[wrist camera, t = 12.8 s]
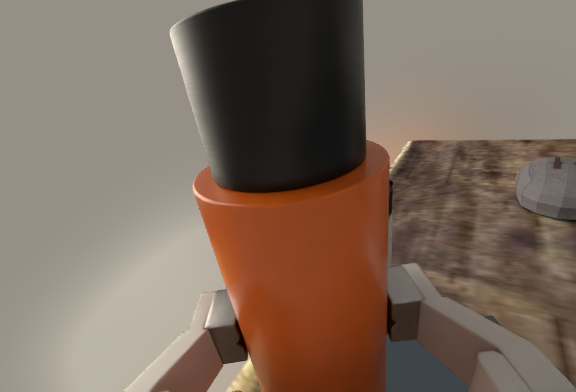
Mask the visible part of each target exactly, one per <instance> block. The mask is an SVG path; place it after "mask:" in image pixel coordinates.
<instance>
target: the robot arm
mask: <svg viewBox="0 0 576 392" xmlns="http://www.w3.org/2000/svg"><path fill="white" fill-rule="evenodd" d="M387 334H388V336H389V339H390V341H391V342H398V341H408V340H417V342H419V343H420V344H421V345H422V346H423V347H424V348H425V349H427V350H428V351H429V352H430V353H431V354H432V355H434V356H435V357H436V358H437V359H438V360H439V361H440V362H442V363H443V364H444V365H445V366H446V367H447V368H449V369H450V370H451V371H452V372H453V373H454V374H455V375H457V376H458V377H459V378H460V379H461V380H462V381H463V382H465V383H466V384H467V385H468V386H469V390H468V392H576V388H575V387H574V386H573V385H572V384H571V383H570V382H569V381H568V380H567V379H566V377H565V376H564V375H563V374H562V373H561V372H560V371H559V370H558V369H557V368H556V367H555V366H554V365H553V364H552V363H551V362H550V361H549V359H548V358H547V357H546V356H545V355H544V354H543V353H542V352H541V351H540V350H539V349H538V348H537V347H536V346H535V345H534V344H533V343H531V342H529V341H527V340H525V339H523V338H522V337H520V336H518V335H516V334H514V333H512V332H510V331H509V330H507V329H505V328H503V327H501V326H499V325H498V324H496V323H494V322H492V321H490V320H488V319H486V318H485V317H483V316H481V315H479V314H477V313H475V312H474V311H472V310H470V309H468V308H466V307H464V306H463V305H461V304H459V303H457V302H455V301H453V300H451V299H450V298H448V297H441V295H440V294H439V292H438V291H437V290H436V288H435V287H434V286H433V284H432V283H431V282H430V280H429V279H428V278H427V276H426V275H425V274H424V272H423V271H422V270H421V268H420V267H419V266H418V264H416V263H411V264H405V265H401V266H400V265H399V266H392V267H388V289H387ZM247 359H248V349H247V346H246V343H245V340H244V337H243V335H242V332H241V329H240V326H239V323H238V320H237V317H236V314H235V311H234V308H233V305H232V303H231V300H230V297H229V294H228V291H227V289H225V290H217V291H211V292H204V293H202V295H201V296H200V299H199V302H198V304H197V307H196V310H195V313H194V315H193V318H192V321H191V323H190V326H189V329H188V331H186V332H183V333H182V334H181V335H180V336H179V337H178V338H177V339H176V340H175V341H174V342H173V343H172V344H171V345H170V346H169V347H168V348H167V349H166V350H165V351H164V352H163V353H162V354H161V355H160V356H159V357H158V358H157V359H156V360H155V361H154V362H152V363H151V364H150V365H149V367H147V369H145V370H144V372H142V373H141V374H140V375H139V376H138V378H136V379H135V380H134V381H133V382H132V383H131V384H130V386H128V387H127V388H126V389H125V390H124V391H123V392H207V390H208V389H209V387H210V386H211V384H212V382H213V380H214V379H215V378H216V376H217V375H218V373H219V371H220V370H221V369H222V367H223V364H227V363H234V362H240V361H246V360H247Z"/></svg>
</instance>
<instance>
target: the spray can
mask: <svg viewBox="0 0 576 392" xmlns="http://www.w3.org/2000/svg"><path fill="white" fill-rule="evenodd" d="M170 37H171V41H172V44H173V47H174V51H175V54H176V57H177V60H178V64H179V67H180V71H181V74H182V77H183V80H184V84H185V87H186V91H187V94H188V97H189V101H190V104H191V107H192V110H193V114H194V117H195V121H196V124H197V127H198V131H199V134H200V137H201V141H202V144H203V147H204V151H205V154H206V157H207V160H208V164H209V166H208V167H207V168H205V169H204V170H202V171H201V173H199V174H198V175H197V177H196V178H195V180H194V182H193V192H194V195H195V198H196V201H197V203H198V206H199V209H200V212H201V215H202V218H203V221H204V223H205V227H206V230H207V233H208V235H209V238H210V241H211V244H212V247H213V250H214V253H215V256H216V259H217V262H218V265H219V267H220V270H221V273H222V276H223V279H224V282H225V285H226V288H227V291H228V294H229V297H230V300H231V303H232V305H233V308H234V311H235V314H236V317H237V320H238V323H239V326H240V329H241V332H242V335H243V337H244V340H245V343H246V346H247V349H248V352H249V355H250V358H251V361H252V364H253V367H254V370H255V372H256V375H257V378H258V381H259V384H260V387H261V390H262V392H386V352H387V289H388V226H389V162H390V161H389V160H390V157H389V155H388V153H387V151H386V150H385V149H384V148H383V147H382V146H380V145H379V144H376V143H374V142H371V141H368V140H366V122H365V80H364V79H365V78H364V39H363V1H362V0H236V1H232V2H228V3H225V4H221V5H217V6H214V7H211V8H208V9H205V10H203V11H200V12H197V13H195V14H192V15H190V16H188V17H186V18H184V19H182V20H181V21H179V22H178V23H176V24H175V25H174V26H173V27H172V28H171V29H170Z"/></svg>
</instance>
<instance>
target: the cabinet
mask: <svg viewBox="0 0 576 392" xmlns="http://www.w3.org/2000/svg"><path fill="white" fill-rule="evenodd" d="M485 318H486V319H488V320H490V321H492V322H494V323H496V324H498V325H499V326H501V325H500V324H499V323H498V321H497V320H496V319H495V318H494V317H493V316H485ZM501 327H502V326H501ZM468 390H469V386H468V385H467V384H466V383H465V382H463V381H462V380H461V379H460V378H459V377H458V376H457V375H455V374H454V373H453V372H452V371H451V370H450V369H449V368H447V367H446V366H445V365H444V364H443V363H442V362H440V361H439V360H438V359H437V358H436V357H435V356H434V355H432V354H431V353H430V352H429V351H428V350H427V349H425V348H424V347H423V346H422V345H421V344H420V343H419V342H417V340H408V341H398V342H391V341H390V339H389V336H388V334H387V352H386V392H468Z"/></svg>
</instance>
